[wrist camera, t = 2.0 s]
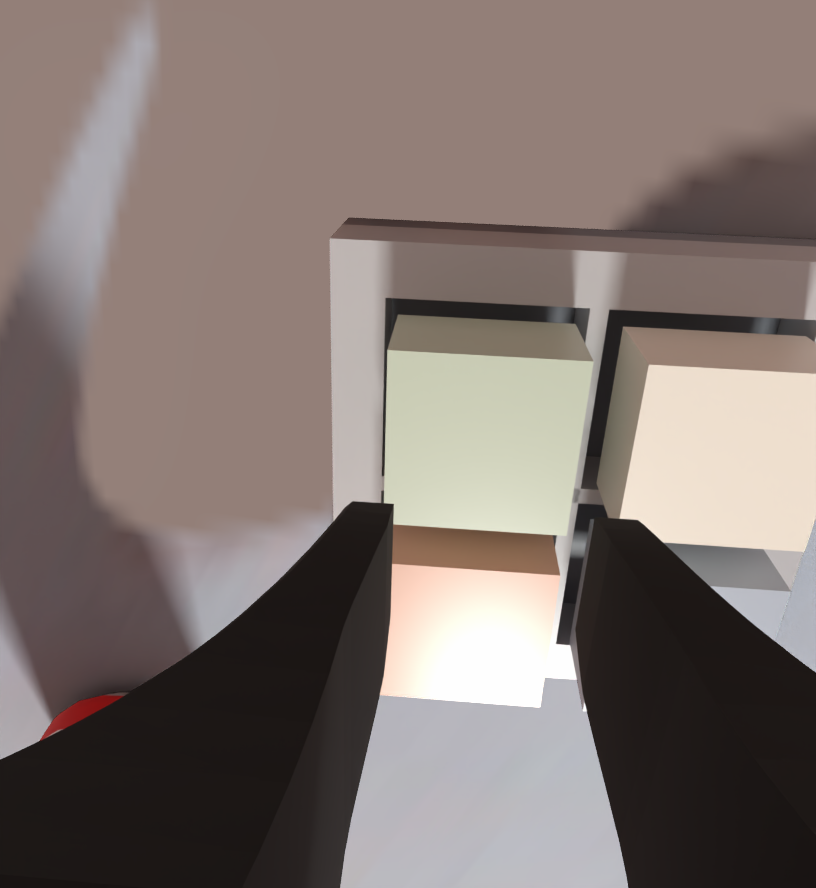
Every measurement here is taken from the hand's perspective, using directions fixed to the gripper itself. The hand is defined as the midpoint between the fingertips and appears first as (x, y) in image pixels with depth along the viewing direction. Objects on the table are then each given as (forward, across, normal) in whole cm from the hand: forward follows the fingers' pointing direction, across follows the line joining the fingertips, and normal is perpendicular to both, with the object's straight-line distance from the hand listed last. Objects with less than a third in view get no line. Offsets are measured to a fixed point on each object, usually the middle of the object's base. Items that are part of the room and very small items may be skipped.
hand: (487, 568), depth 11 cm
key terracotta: (+6, 0, +5) cm, 8 cm away
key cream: (+6, -5, 0) cm, 8 cm away
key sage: (+6, 0, 0) cm, 6 cm away
